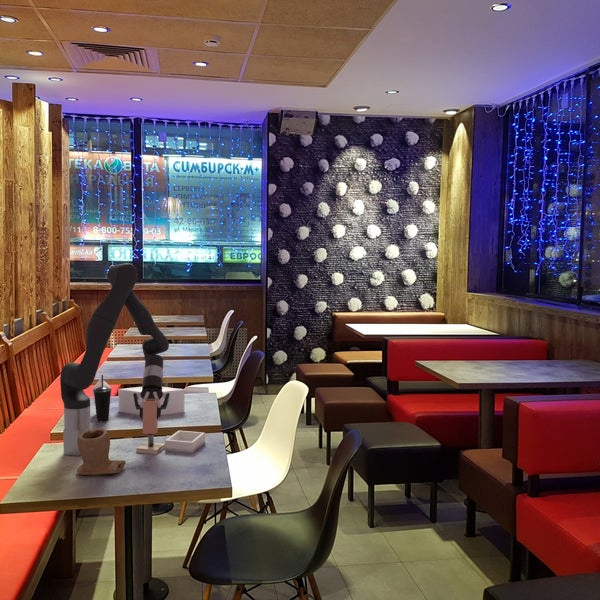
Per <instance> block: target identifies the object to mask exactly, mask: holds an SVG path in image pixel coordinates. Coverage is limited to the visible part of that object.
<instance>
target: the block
mask: <svg viewBox="0 0 600 600" xmlns="http://www.w3.org/2000/svg"><path fill="white" fill-rule="evenodd" d="M117 391H118V412H120V413H126V414H131V415H138V416H139V414H140V410H139V409H138V410H136V407H135V402H134V396H133V394H134V393H136V394H140V393H141V391H142V386H136V387H135V386H134V387H127V388H118V390H117ZM162 392H163V393H165V394H167V393H169V394H170V398H169V401H168V404H167V407H166V409H162V410H161V415H162V416H163V415H172V414H178V413H185V389H181V388H175V387H174V388H173V387H167V386H162ZM142 401H143V399H142V397H140V398H139V400H138V404H139V405H141V403H142ZM159 402H160V404H161V405H163V402H164V397H162V398H161V399H160V400H159Z"/></svg>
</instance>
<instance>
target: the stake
mask: <svg viewBox="0 0 600 600" xmlns="http://www.w3.org/2000/svg"><path fill="white" fill-rule="evenodd" d="M154 436H155V435H154V434H147V439H148V440H147V442H148V446H149V447H153V446H154V443H155V441H154Z"/></svg>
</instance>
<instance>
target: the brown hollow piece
mask: <svg viewBox="0 0 600 600" xmlns="http://www.w3.org/2000/svg"><path fill="white" fill-rule="evenodd" d="M77 444H78V449H79V452H80V456H81V458H82V464H80V465H79V466H78V467H77V469H76V472H77V474H78V475H83V476H84V475H86V476H90V475H91V476H92V475H96V476H97V475H109V474H111V475H112V474H118V473H120V472H121V471H122V470H123V469H124V467H125V465H126V464H127V463H126V462H127V461H126V460H124V459H123V460H122V459H121V460H120V459H119V460H118V459H117V460H115V459H114V460H111V459H110V458H109V456H110V455H109V453H110V447H111V437H110V434H109V432H108V431H107V429H104V428H95V429H91V430H87V431H85V432H83V433H81V434H80V435H79V436H78V439H77Z"/></svg>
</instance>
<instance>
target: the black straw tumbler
mask: <svg viewBox="0 0 600 600" xmlns="http://www.w3.org/2000/svg"><path fill="white" fill-rule="evenodd" d="M98 387H102V380H101V378H99V380H98V381H97V382H96V384H95V385H93V387H92V389H91V392H92V393H93V394H92V396H93V402H94V404H95V398H94V392H93V390H94V389H96V388H98ZM103 387H108V388H111V389H112V387H111V386H110V385H109V383H108V382H106V381H105V379H103Z"/></svg>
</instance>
